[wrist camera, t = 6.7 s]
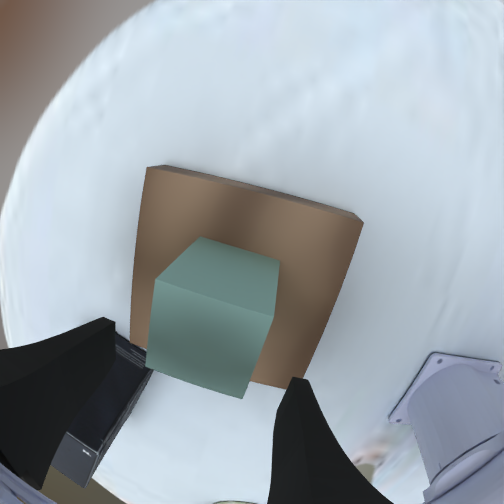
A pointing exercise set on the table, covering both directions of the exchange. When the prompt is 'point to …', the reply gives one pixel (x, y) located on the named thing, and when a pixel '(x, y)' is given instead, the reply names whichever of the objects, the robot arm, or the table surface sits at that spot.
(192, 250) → the teal block
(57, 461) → the small box
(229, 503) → the coffee can
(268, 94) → the table surface
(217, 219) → the walnut slab
